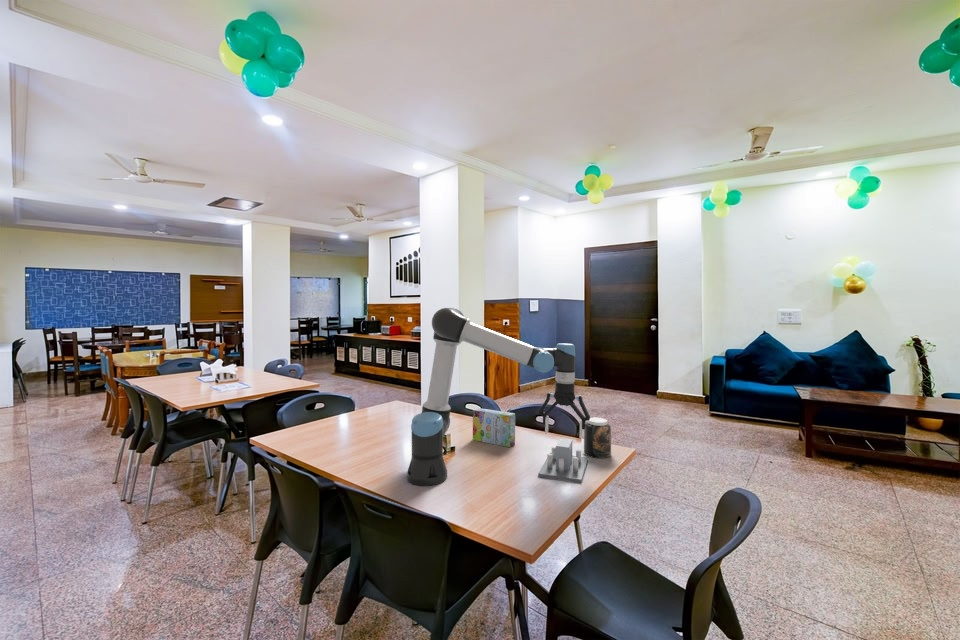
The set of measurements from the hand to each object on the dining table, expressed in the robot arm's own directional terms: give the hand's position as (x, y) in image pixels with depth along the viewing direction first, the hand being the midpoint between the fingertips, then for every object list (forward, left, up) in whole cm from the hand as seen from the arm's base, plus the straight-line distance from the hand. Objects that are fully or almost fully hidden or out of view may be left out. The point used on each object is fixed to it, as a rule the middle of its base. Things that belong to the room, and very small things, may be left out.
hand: (563, 434), depth 160 cm
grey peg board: (0, 0, -13) cm, 13 cm away
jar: (+11, +22, -14) cm, 28 cm away
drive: (0, 0, -12) cm, 12 cm away
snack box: (-37, +20, -14) cm, 44 cm away
